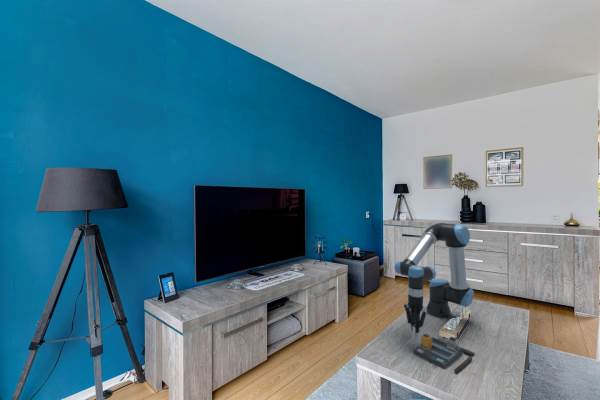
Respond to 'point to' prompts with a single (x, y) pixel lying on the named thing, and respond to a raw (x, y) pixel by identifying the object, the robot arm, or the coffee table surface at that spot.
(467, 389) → the coffee table surface
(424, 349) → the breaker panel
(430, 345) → the block
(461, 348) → the cord front
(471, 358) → the rod
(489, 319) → the coffee table surface
